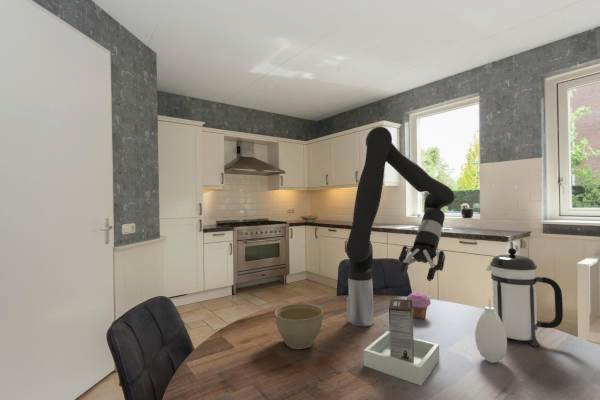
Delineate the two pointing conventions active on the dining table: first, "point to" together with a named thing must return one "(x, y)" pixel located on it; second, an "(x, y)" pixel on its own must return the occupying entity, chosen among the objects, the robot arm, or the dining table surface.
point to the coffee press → (520, 296)
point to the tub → (415, 373)
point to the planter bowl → (299, 324)
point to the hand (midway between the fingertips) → (415, 277)
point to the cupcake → (419, 304)
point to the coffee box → (401, 329)
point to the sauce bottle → (491, 335)
